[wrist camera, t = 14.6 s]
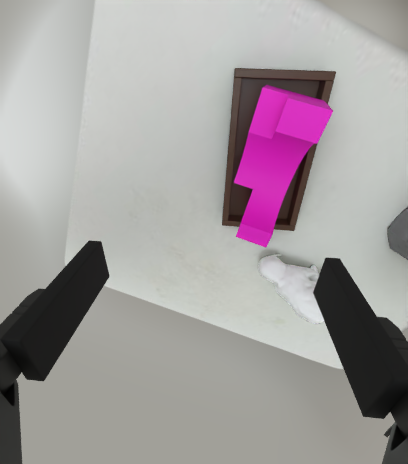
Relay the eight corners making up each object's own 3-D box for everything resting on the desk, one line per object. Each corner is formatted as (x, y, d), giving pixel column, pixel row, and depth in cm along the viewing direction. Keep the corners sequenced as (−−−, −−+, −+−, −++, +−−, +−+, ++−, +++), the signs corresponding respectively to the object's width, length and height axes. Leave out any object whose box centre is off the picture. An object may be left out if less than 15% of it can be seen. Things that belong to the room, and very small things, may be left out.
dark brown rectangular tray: (234, 69, 27) (235, 68, 25) (327, 72, 26) (336, 71, 24) (222, 216, 37) (222, 225, 34) (290, 222, 36) (294, 231, 34)
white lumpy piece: (316, 337, 35) (247, 297, 34) (305, 296, 43) (249, 263, 42) (350, 313, 32) (275, 269, 31) (332, 274, 40) (271, 237, 39)
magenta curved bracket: (266, 84, 26) (258, 89, 20) (324, 100, 25) (333, 110, 19) (229, 202, 35) (216, 229, 29) (271, 216, 34) (266, 247, 28)
